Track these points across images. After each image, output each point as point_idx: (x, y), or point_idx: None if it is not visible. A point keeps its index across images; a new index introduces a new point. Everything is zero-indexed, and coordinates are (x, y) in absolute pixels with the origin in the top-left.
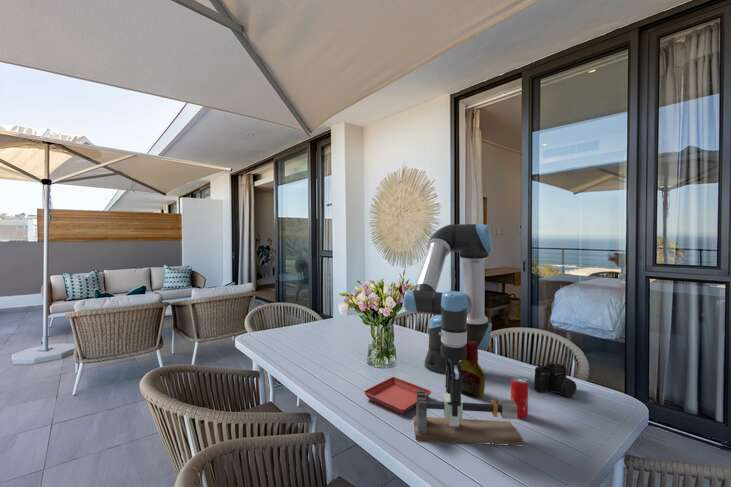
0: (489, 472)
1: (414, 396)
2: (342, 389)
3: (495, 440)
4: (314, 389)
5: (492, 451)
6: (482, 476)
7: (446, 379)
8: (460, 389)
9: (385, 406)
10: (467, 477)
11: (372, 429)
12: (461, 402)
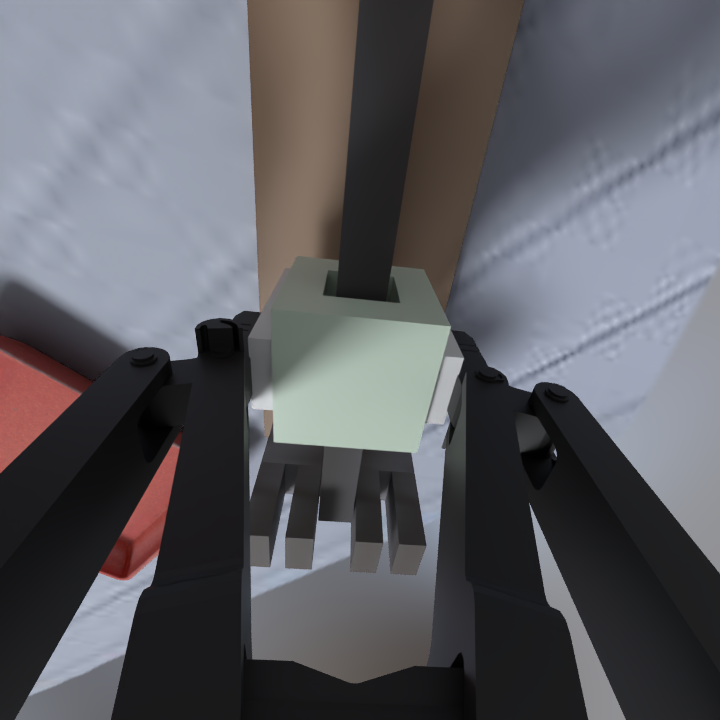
0: (706, 184)
1: (28, 394)
2: (90, 592)
3: (521, 10)
4: (125, 637)
5: (564, 81)
6: (710, 232)
7: (141, 496)
8: (697, 555)
9: None
10: (681, 300)
11: (339, 532)
12: (447, 336)
